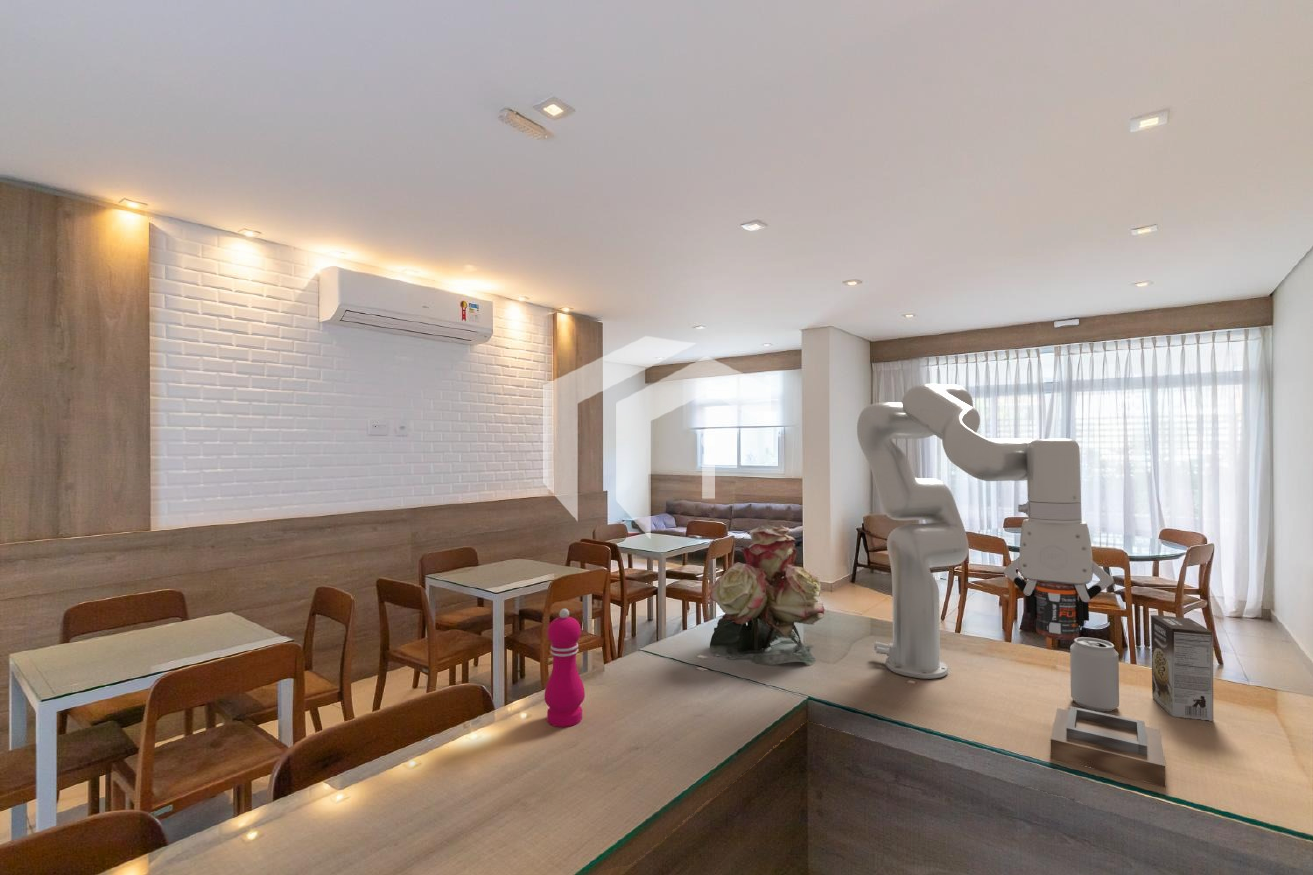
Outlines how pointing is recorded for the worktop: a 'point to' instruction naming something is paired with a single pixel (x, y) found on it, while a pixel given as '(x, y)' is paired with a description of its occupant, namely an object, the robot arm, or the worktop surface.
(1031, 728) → the worktop surface
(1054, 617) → the supplement bottle
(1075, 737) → the display pedestal
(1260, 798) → the worktop surface
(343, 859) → the worktop surface
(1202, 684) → the coffee box
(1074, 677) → the can
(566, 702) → the pepper mill
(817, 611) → the rose bouquet
